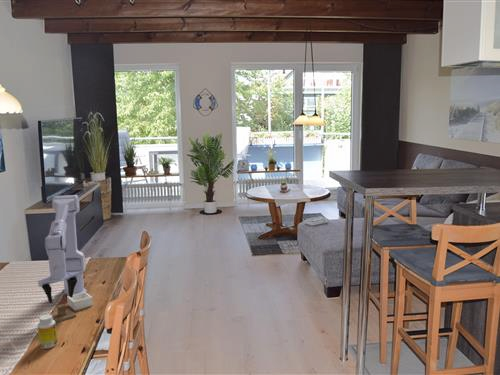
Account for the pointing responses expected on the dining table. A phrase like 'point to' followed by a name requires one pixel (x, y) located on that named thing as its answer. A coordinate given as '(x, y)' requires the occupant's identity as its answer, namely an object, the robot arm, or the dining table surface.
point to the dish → (80, 301)
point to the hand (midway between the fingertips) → (60, 299)
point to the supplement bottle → (47, 332)
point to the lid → (62, 314)
